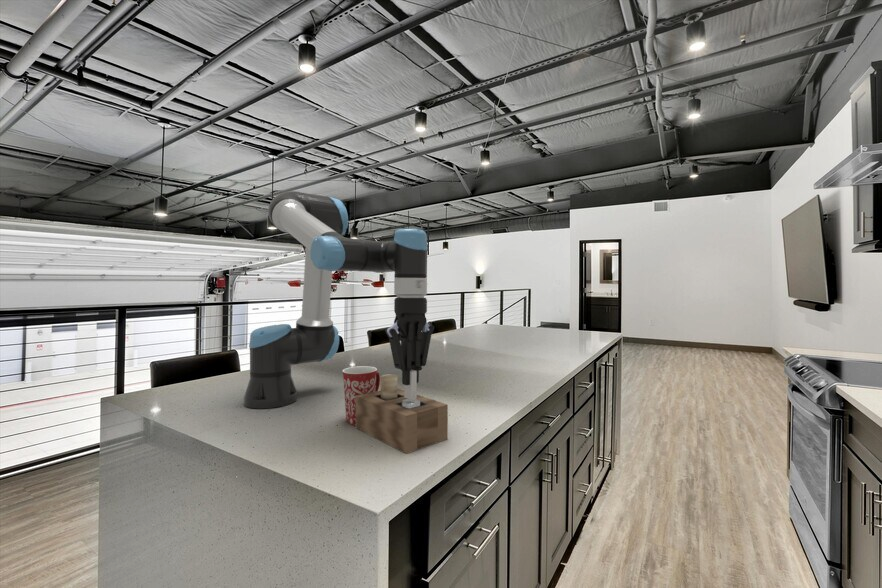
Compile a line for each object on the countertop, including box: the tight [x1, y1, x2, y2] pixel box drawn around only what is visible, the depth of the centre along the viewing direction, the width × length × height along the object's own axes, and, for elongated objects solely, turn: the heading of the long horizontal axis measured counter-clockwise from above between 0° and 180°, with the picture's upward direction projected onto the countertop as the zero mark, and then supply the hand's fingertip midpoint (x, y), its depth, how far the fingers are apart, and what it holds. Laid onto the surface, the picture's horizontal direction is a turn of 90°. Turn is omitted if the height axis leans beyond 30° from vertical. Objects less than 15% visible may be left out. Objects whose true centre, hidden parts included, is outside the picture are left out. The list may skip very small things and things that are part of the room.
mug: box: [341, 365, 381, 425], centre depth 105 cm, size 13×9×14 cm
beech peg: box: [379, 373, 398, 400], centre depth 97 cm, size 4×4×8 cm
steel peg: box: [402, 399, 420, 409], centre depth 91 cm, size 4×4×8 cm
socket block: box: [355, 387, 449, 454], centre depth 94 cm, size 21×12×8 cm, turn 42°
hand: (410, 397), depth 91 cm, fingers closed
